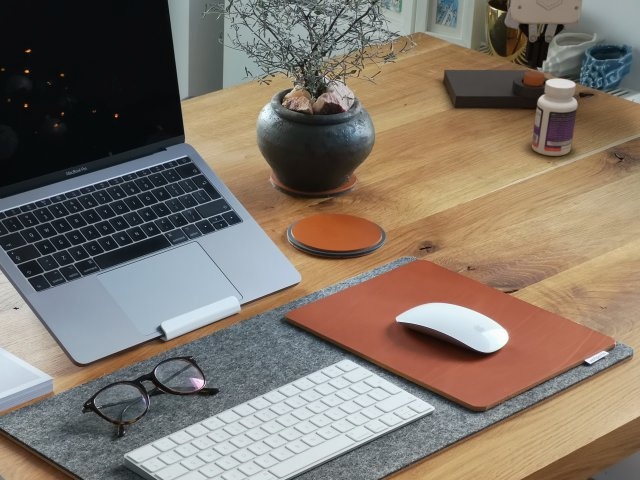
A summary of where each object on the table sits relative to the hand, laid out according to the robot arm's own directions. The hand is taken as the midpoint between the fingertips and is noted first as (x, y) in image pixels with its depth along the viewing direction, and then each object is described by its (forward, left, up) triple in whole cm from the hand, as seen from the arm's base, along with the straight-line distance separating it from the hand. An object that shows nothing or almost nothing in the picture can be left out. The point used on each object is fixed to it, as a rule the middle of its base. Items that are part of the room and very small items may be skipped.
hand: (534, 64), depth 169 cm
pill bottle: (+1, +18, -6) cm, 19 cm away
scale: (+5, -4, -6) cm, 9 cm away
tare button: (0, 0, -3) cm, 3 cm away
